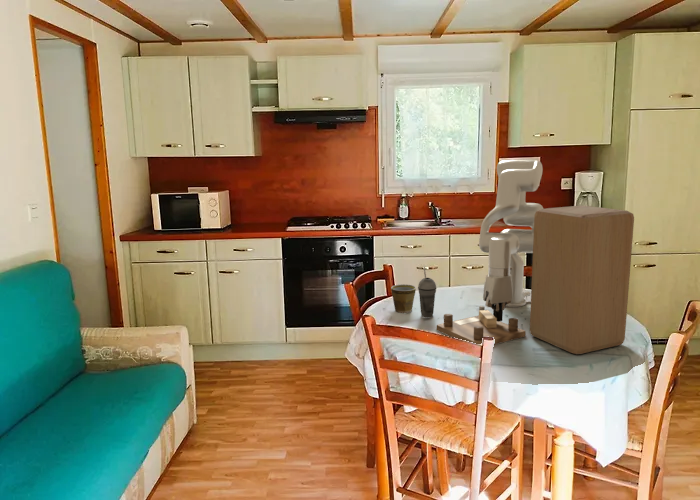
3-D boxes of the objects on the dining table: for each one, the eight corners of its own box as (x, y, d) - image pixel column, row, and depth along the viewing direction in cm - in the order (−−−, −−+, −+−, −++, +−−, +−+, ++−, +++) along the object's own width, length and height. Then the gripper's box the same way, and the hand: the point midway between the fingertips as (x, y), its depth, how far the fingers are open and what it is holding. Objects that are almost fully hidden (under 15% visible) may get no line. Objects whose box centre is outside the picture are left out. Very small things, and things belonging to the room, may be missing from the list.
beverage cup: (435, 319, 211) (436, 269, 207) (417, 318, 213) (417, 268, 209) (436, 313, 218) (437, 265, 214) (418, 312, 220) (418, 264, 216)
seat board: (482, 319, 209) (482, 303, 208) (525, 336, 191) (526, 318, 189) (436, 330, 199) (436, 313, 198) (477, 348, 180) (477, 330, 179)
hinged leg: (478, 319, 203) (478, 310, 202) (487, 318, 203) (487, 310, 203) (487, 328, 193) (487, 318, 193) (496, 327, 193) (496, 318, 193)
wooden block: (576, 357, 171) (584, 216, 162) (526, 335, 191) (531, 208, 182) (627, 346, 180) (638, 210, 171) (574, 326, 200) (581, 204, 191)
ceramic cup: (420, 312, 220) (420, 288, 218) (399, 316, 216) (399, 292, 214) (403, 304, 232) (403, 281, 230) (383, 307, 227) (383, 284, 225)
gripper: (508, 266, 201) (507, 314, 204) (475, 271, 195) (474, 320, 198) (522, 271, 194) (520, 320, 198) (489, 276, 188) (487, 326, 192)
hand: (497, 320), depth 198 cm, fingers closed
